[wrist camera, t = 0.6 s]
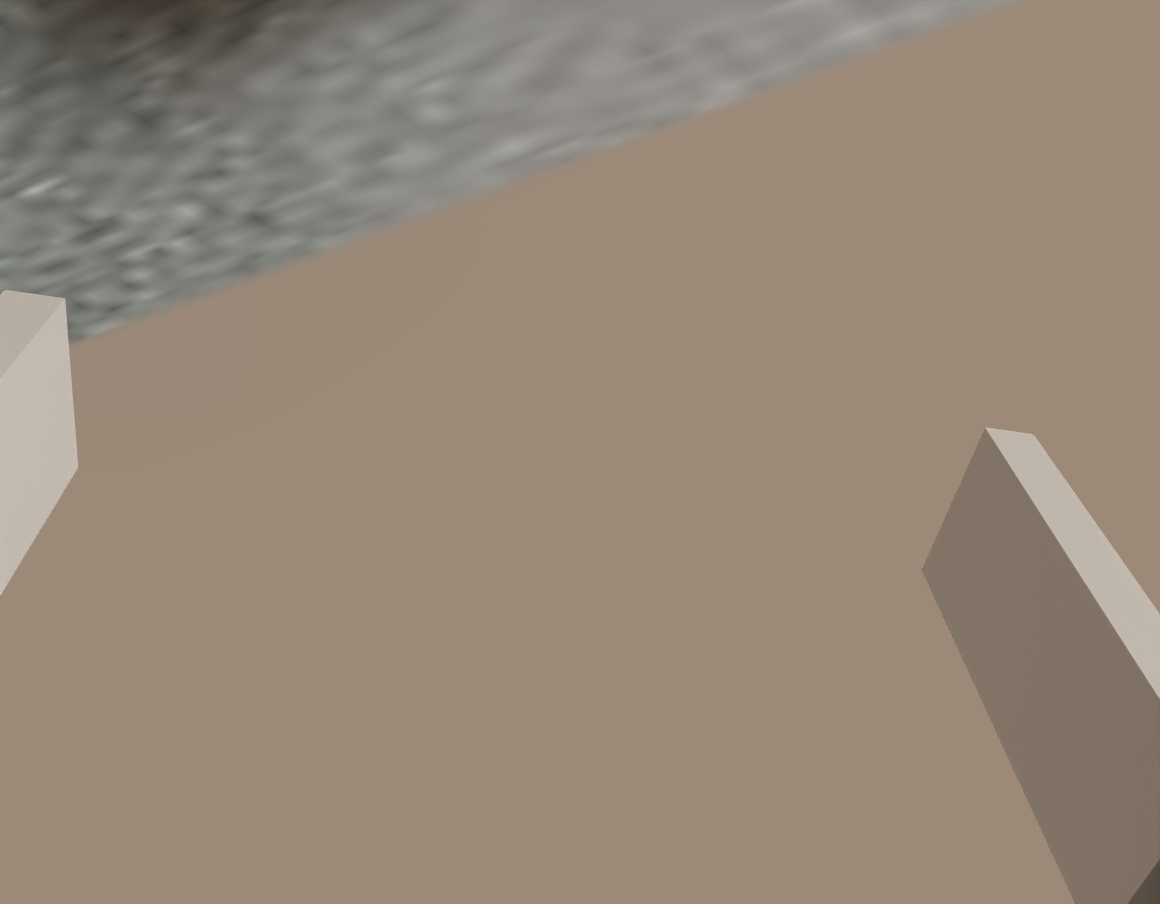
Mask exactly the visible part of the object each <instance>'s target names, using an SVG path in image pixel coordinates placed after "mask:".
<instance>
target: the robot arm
mask: <svg viewBox="0 0 1160 904" xmlns="http://www.w3.org/2000/svg"><path fill="white" fill-rule="evenodd" d="M74 421H75V420H74V409H73V395H72V382H71V370H70V356H69V344H68V331H67V318H66V305H65V298H58V297H51V296H44V295H37V294H30V293H23V292H16V291H9V290H4V291H3V292H2V294H1V295H0V596H1V594H2V592H3V590H4V589H5V587H6V586H7V584H8V582H9V580H10V579H11V577H12V575H13V574H14V572H15V571H16V569H17V567H18V566H19V564H20V563H21V561H22V559H23V558H24V556H25V554H26V553H27V551H28V549H29V548H30V546H31V544H32V543H33V541H34V539H35V538H36V536H37V534H38V533H39V531H40V529H41V528H42V526H43V524H44V523H45V521H46V520H47V518H48V516H49V514H50V513H51V511H52V510H53V508H54V506H55V505H56V503H57V501H58V500H59V498H60V496H61V495H62V493H63V491H64V490H65V488H66V487H67V485H68V483H69V481H70V480H71V478H72V477H73V475H74V473H75V472H76V470H77V468H78V459H77V447H76V433H75V422H74ZM922 572H923V574H924V576H925V578H926V580H927V583H928V585H929V587H930V589H931V591H932V593H933V596H934V598H935V600H936V602H937V604H938V606H939V609H940V611H941V613H942V615H943V617H944V619H945V622H946V624H947V626H948V628H949V630H950V633H951V635H952V637H953V639H954V641H955V643H956V646H957V648H958V650H959V652H960V654H961V656H962V659H963V661H964V663H965V665H966V667H967V670H968V672H969V674H970V676H971V678H972V680H973V682H974V685H975V687H976V689H977V691H978V693H979V695H980V698H981V700H982V702H983V704H984V706H985V709H986V711H987V713H988V715H989V717H990V720H991V722H992V724H993V726H994V728H995V730H996V733H997V735H998V737H999V739H1000V741H1001V743H1002V746H1003V748H1004V750H1005V752H1006V754H1007V756H1008V759H1009V760H1010V763H1011V765H1012V767H1013V769H1014V772H1015V774H1016V776H1017V778H1018V780H1019V783H1020V784H1021V787H1022V789H1023V791H1024V793H1025V796H1026V798H1027V800H1028V802H1029V804H1030V806H1031V809H1032V811H1033V813H1034V815H1035V817H1036V819H1037V822H1038V824H1039V826H1040V828H1041V830H1042V833H1043V835H1044V837H1045V839H1046V841H1047V843H1048V846H1049V848H1050V850H1051V852H1052V854H1053V856H1054V859H1055V861H1056V863H1057V865H1058V867H1059V869H1060V872H1061V874H1062V876H1063V878H1064V880H1065V883H1066V885H1067V887H1068V889H1069V891H1070V893H1071V896H1072V898H1073V900H1074V902H1075V904H1160V614H1159V612H1158V611H1157V610H1156V608H1155V607H1154V605H1153V604H1152V603H1151V601H1150V600H1149V598H1148V597H1147V595H1146V594H1145V593H1144V591H1143V590H1142V588H1141V587H1140V585H1139V584H1138V583H1137V581H1136V580H1135V578H1134V577H1133V575H1132V574H1131V573H1130V571H1129V570H1128V568H1127V567H1126V566H1125V564H1124V563H1123V561H1122V560H1121V558H1120V557H1119V556H1118V554H1117V553H1116V552H1115V550H1114V548H1113V547H1112V546H1111V544H1110V543H1109V541H1108V540H1107V539H1106V537H1105V536H1104V534H1103V533H1102V531H1101V530H1100V529H1099V527H1098V526H1097V524H1096V523H1095V522H1094V520H1093V519H1092V517H1091V516H1090V514H1089V513H1088V512H1087V510H1086V509H1085V507H1084V506H1083V504H1082V503H1081V502H1080V500H1079V499H1078V498H1077V496H1076V494H1075V493H1074V492H1073V490H1072V489H1071V487H1070V486H1069V485H1068V483H1067V482H1066V480H1065V479H1064V477H1063V476H1062V475H1061V473H1060V472H1059V470H1058V469H1057V468H1056V466H1055V465H1054V463H1053V462H1052V460H1051V459H1050V458H1049V456H1048V455H1047V453H1046V452H1045V450H1044V449H1043V448H1042V446H1041V445H1040V443H1039V442H1038V440H1037V439H1036V438H1035V436H1034V435H1033V434H1027V433H1020V432H1013V431H1006V430H999V429H992V428H985V429H984V432H983V434H982V436H981V438H980V441H979V443H978V445H977V447H976V449H975V452H974V454H973V456H972V458H971V461H970V463H969V465H968V467H967V470H966V472H965V474H964V476H963V479H962V481H961V484H960V485H959V488H958V490H957V492H956V494H955V497H954V499H953V501H952V503H951V506H950V508H949V510H948V512H947V515H946V517H945V519H944V521H943V524H942V526H941V528H940V530H939V533H938V535H937V537H936V540H935V542H934V544H933V546H932V548H931V550H930V553H929V555H928V557H927V560H926V562H925V564H924V566H923V568H922Z"/></svg>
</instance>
